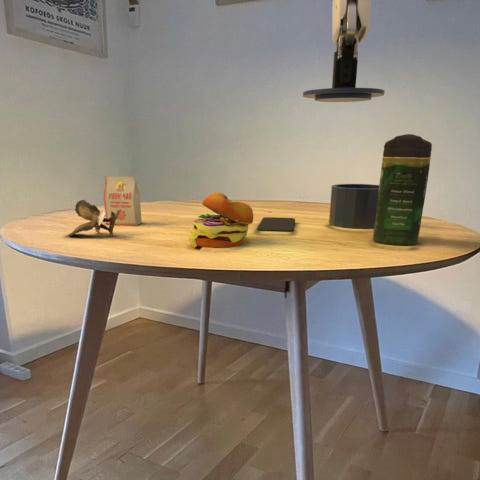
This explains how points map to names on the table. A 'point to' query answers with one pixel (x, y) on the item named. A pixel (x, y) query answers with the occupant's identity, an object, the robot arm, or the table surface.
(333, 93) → the lid
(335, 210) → the pot
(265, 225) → the phone
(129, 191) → the paper takeout bag
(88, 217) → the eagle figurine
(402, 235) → the coffee jar
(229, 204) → the cheeseburger
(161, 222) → the table surface
